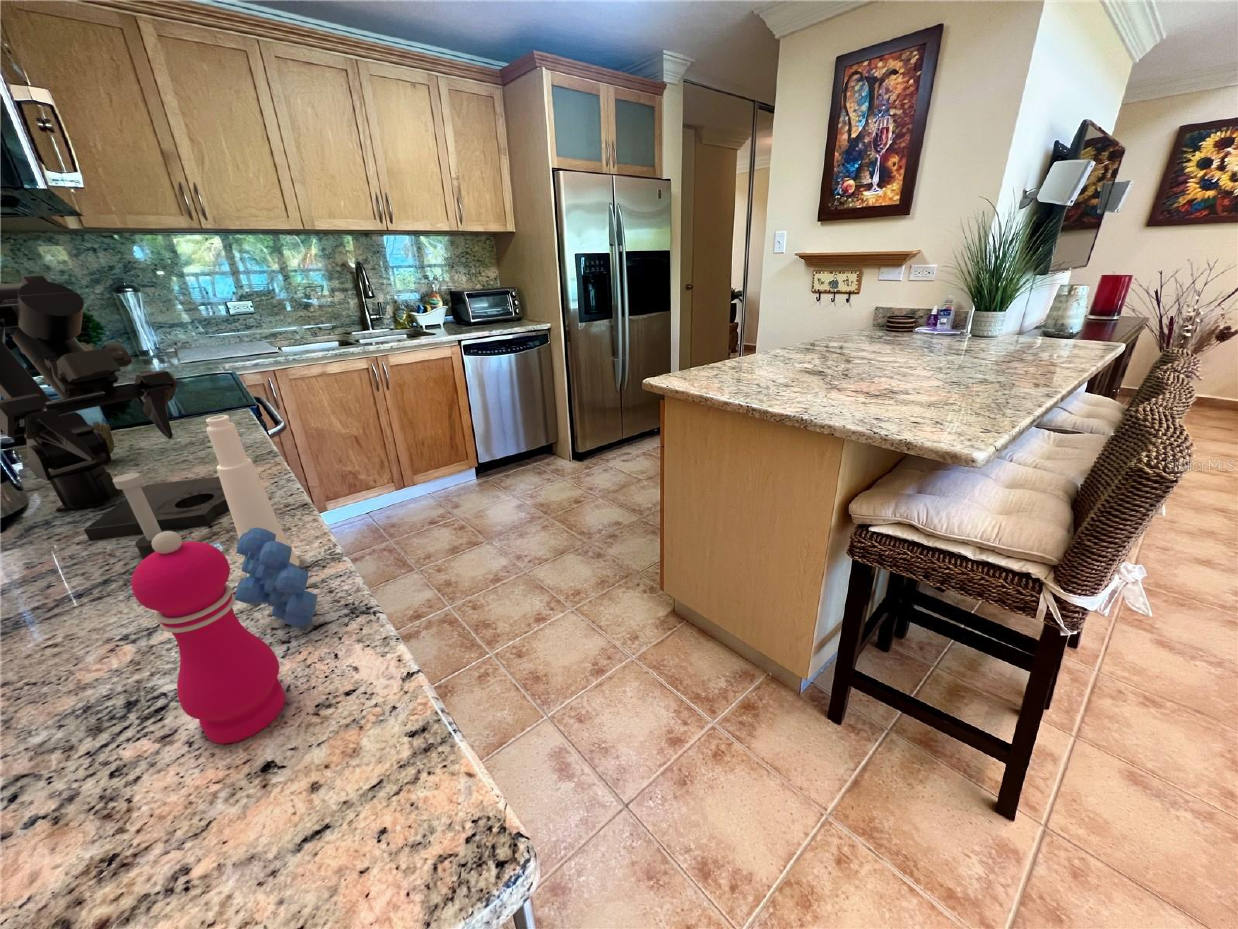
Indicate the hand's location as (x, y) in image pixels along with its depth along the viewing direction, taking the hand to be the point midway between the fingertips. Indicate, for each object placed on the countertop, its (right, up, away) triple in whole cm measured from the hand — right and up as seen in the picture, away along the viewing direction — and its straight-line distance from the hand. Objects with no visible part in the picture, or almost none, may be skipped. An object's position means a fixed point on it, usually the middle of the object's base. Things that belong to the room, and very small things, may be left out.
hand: (134, 447), depth 72 cm
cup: (-38, -2, +32) cm, 49 cm away
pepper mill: (+36, -26, -25) cm, 51 cm away
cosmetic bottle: (+24, -17, -4) cm, 30 cm away
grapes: (+31, -21, -14) cm, 40 cm away
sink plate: (-5, -10, +13) cm, 17 cm away
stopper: (+4, -15, 0) cm, 16 cm away
